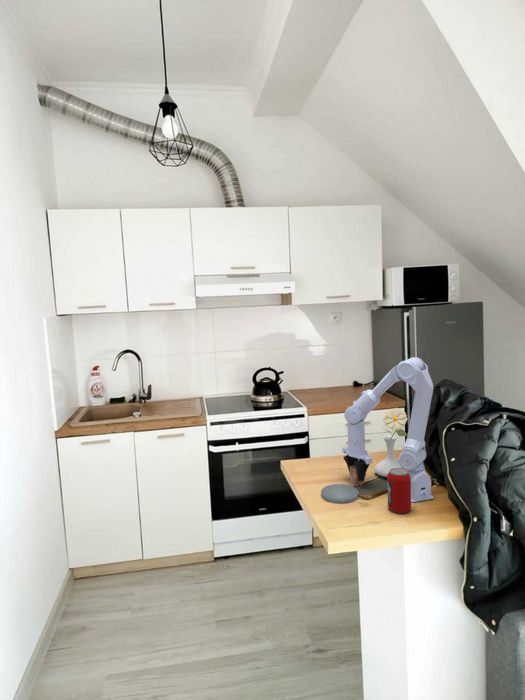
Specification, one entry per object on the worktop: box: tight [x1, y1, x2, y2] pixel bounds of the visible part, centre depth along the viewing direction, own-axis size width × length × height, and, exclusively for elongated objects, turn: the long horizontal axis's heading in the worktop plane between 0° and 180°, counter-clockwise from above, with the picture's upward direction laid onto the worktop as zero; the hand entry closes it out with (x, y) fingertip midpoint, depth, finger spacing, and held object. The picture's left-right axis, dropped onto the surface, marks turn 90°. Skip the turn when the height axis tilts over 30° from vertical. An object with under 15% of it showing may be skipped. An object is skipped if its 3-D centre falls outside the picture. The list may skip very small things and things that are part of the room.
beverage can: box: [386, 468, 412, 514], centre depth 143 cm, size 7×7×12 cm
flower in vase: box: [374, 407, 408, 478], centre depth 170 cm, size 13×11×25 cm
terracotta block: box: [349, 465, 366, 487], centre depth 164 cm, size 4×4×6 cm
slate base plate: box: [320, 483, 360, 504], centre depth 155 cm, size 12×12×2 cm
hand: (357, 478), depth 165 cm, fingers closed on terracotta block, 4 cm apart
